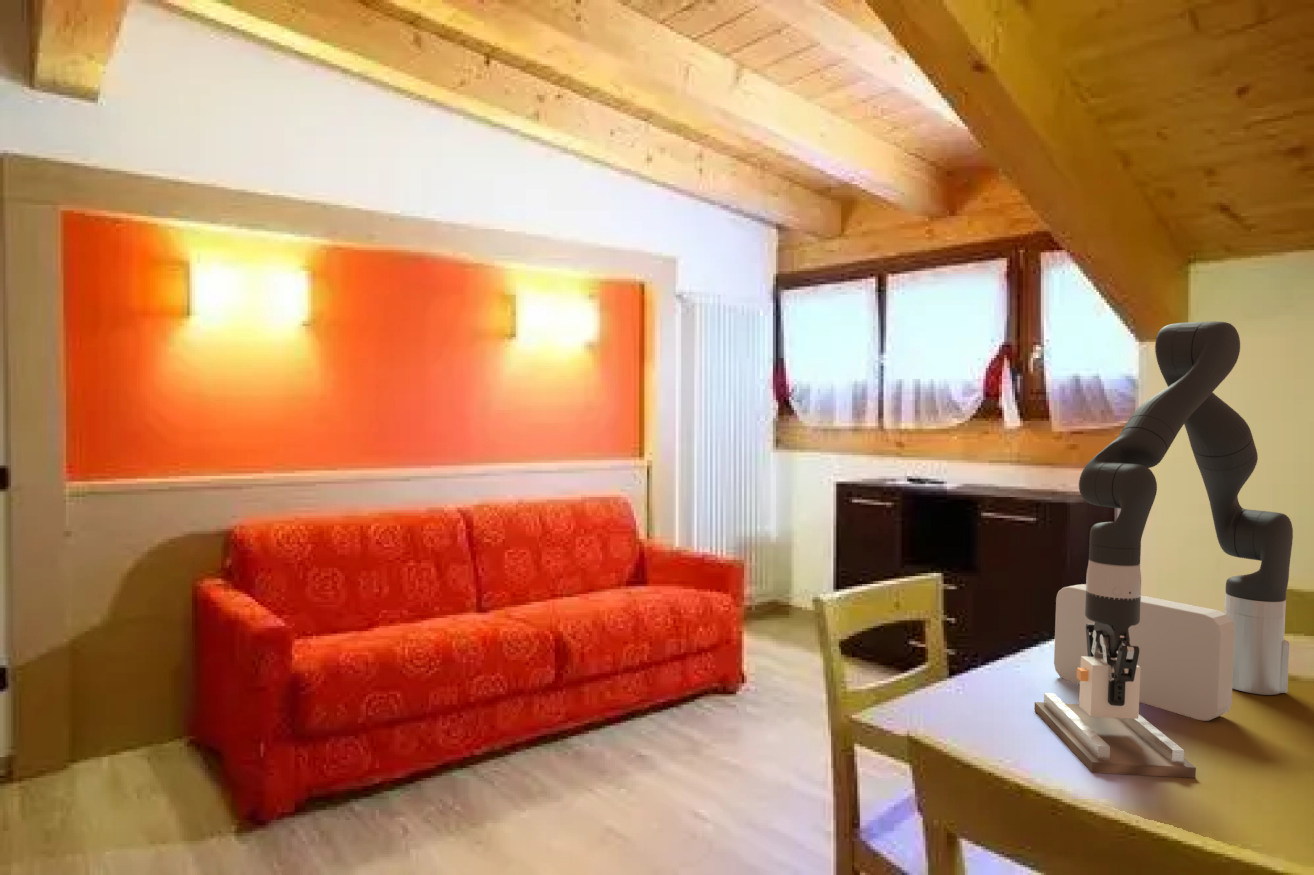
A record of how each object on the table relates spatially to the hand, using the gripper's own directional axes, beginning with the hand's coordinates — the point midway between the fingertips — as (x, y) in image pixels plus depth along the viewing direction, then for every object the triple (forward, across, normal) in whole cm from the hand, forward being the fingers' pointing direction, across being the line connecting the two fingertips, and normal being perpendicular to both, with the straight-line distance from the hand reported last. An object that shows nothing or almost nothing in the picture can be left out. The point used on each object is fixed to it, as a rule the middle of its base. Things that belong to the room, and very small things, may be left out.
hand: (1108, 698), depth 131 cm
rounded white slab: (+7, +22, -14) cm, 27 cm away
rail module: (+2, 0, 0) cm, 2 cm away
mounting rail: (+5, 0, 0) cm, 5 cm away
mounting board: (+7, 0, 0) cm, 7 cm away
